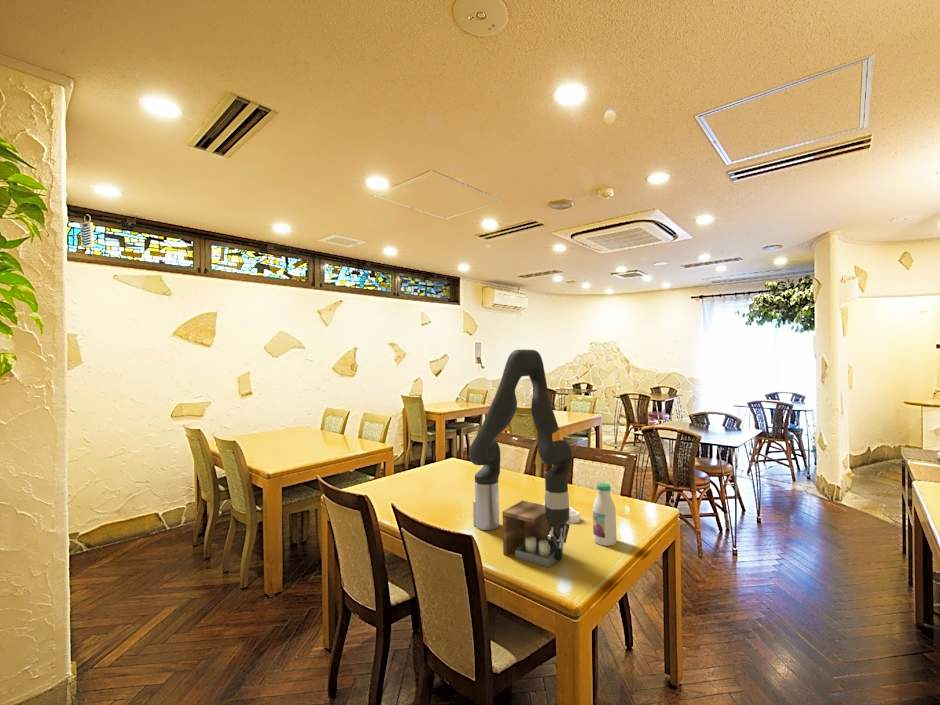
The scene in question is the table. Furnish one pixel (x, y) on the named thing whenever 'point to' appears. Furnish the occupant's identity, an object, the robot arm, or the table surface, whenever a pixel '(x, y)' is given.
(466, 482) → the table surface
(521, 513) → the brown wooden cube
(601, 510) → the milk bottle
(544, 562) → the tray
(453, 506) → the table surface
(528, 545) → the cream cylinder
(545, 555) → the cream piece
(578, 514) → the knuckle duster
